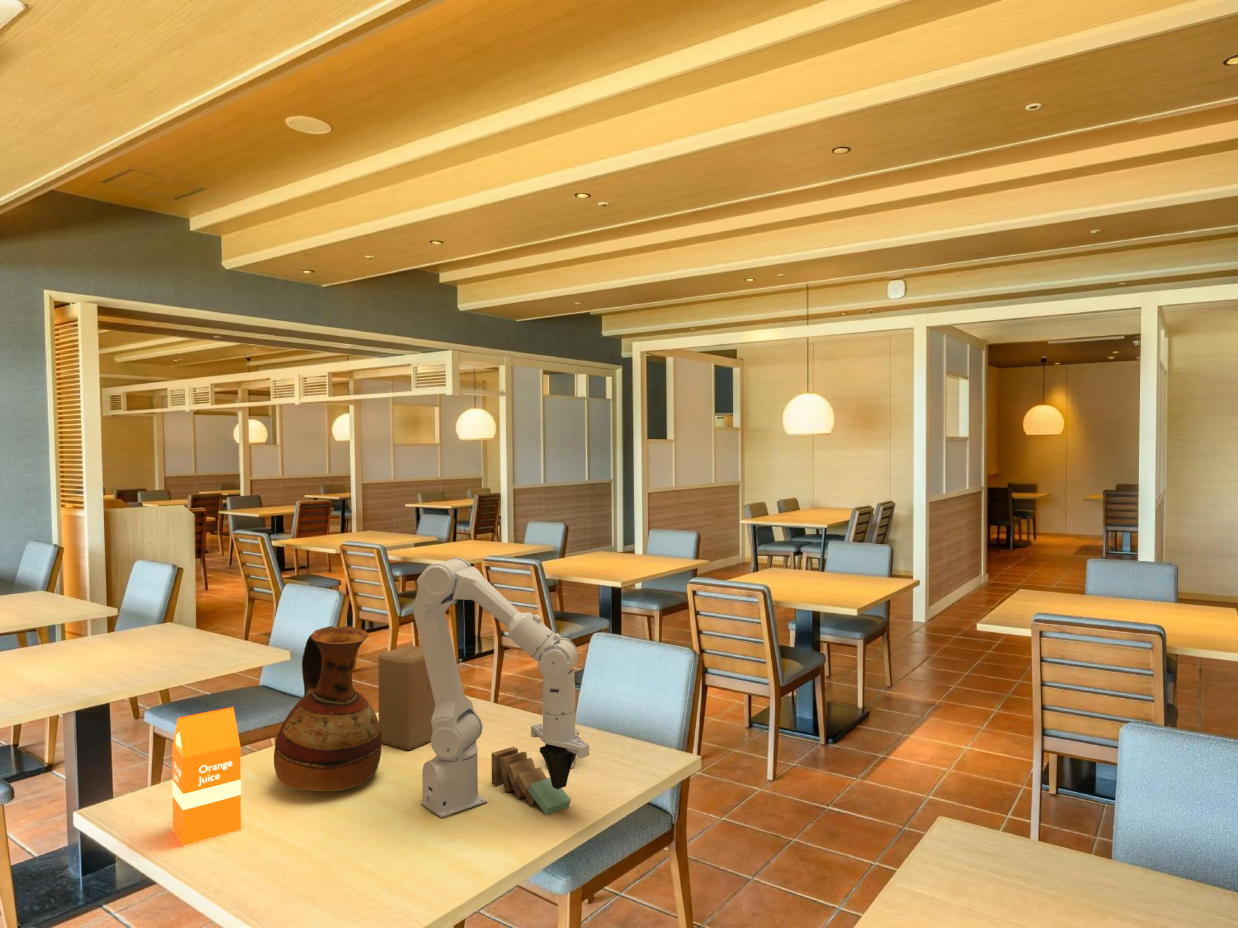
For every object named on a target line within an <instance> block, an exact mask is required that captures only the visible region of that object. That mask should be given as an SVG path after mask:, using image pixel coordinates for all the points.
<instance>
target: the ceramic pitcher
mask: <svg viewBox="0 0 1238 928" xmlns="http://www.w3.org/2000/svg"><path fill="white" fill-rule="evenodd" d="M368 636H369V632H367V631H366V630H364V629H362V628H359V627H354V626H347V625H345V626H341V625H338V626H332V625H331V626H326V627H325V626H324V627H322V628H318V629H316V630H314V631H313V632H312V633H311V635H309V637H308V638H307V640H306V642H305V646H304V649H303V654H302V658H301V659H302V660H301V671H302V672H301V673H302V680H303V692H304V693H303V696H302V697H301V698H300V699H299V700H298V701H297V702H296V704H295V705H294V707H292V708H291V710H290V711H289V713H288V714H287V715H286V717H285V719H284V720H283V722H282V725H281V726H280V729H279V731H278V734H277V737H276V740H275V744H274V752H273V765H274V766H273V767H274V771H275V775H276V778H277V779H278V781H279V782H280V783H281V784H282V785H283V786H285V787H287V788H291V789H295V790H298V791H299V790H301V791H309V792H312V791H313V792H330V791H332V792H333V791H342V790H349V789H352V788H355V787H358V786H360V785H362V784H363V783H365V782H367V781H368V780H369V779H371V778H372V777H373V775H375V774H376V771H377V769H378V768H379V764H380V761H381V755H382V745H383V743H382V738H381V730H380V726H379V718H378V717H377V714H376V711H375V710H374V708H373V707H372V706H371V705H372V704H370V703H369V701H368V700H367V698H366V697H365V696H363V695H362V694H361V693H360V692H358V691H356V690H355V688H354V686H353V685H354V684H353V668H354V664H355V657H356V654H357V652H358V649H360V647H361V645H362V644H363V643H364V642H365V640H366V639H367V637H368Z"/></svg>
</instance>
